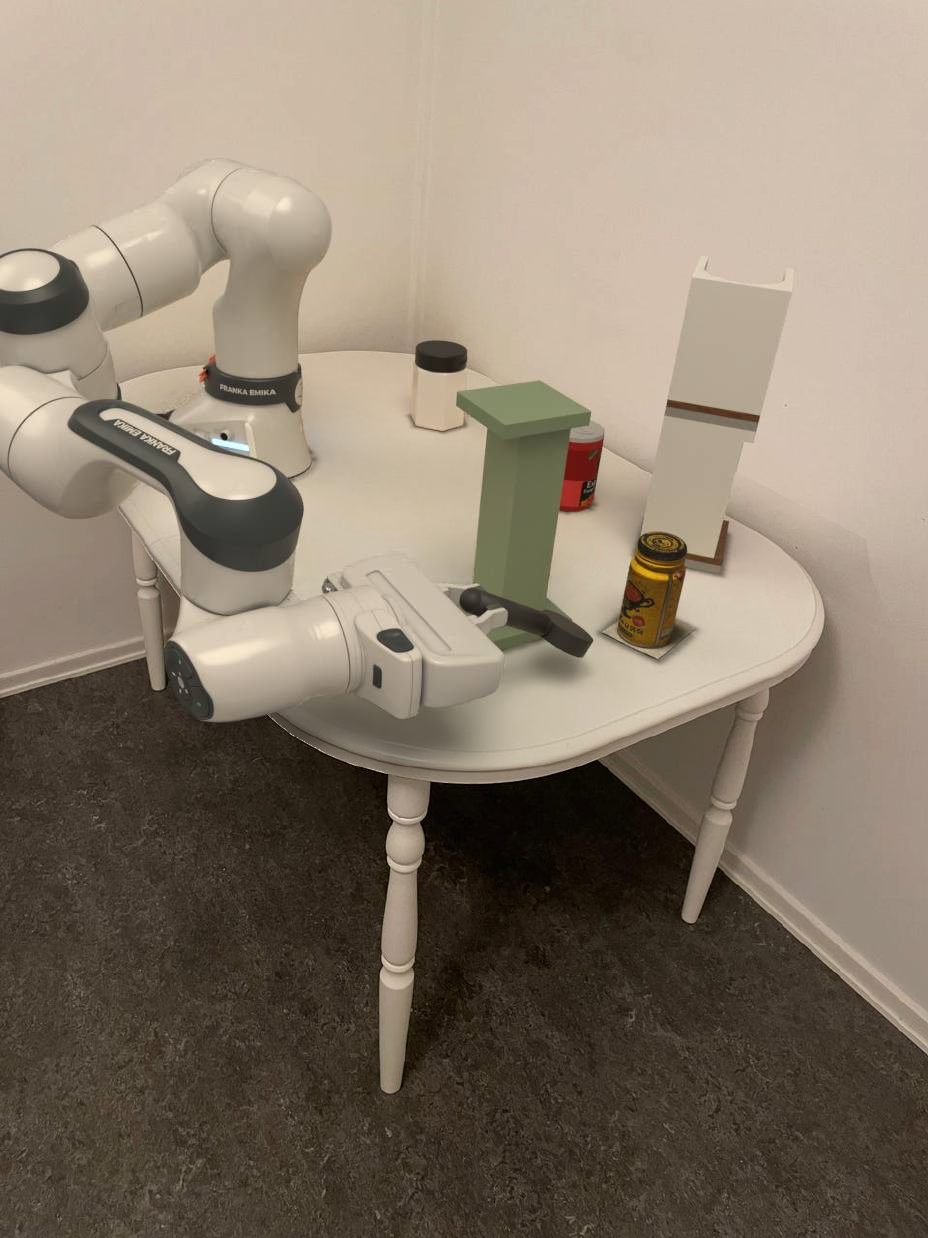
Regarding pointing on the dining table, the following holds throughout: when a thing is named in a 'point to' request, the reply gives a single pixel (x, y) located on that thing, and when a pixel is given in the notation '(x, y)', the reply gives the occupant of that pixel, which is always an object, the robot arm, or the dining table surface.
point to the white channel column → (713, 407)
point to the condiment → (653, 596)
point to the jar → (438, 384)
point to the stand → (520, 492)
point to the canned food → (582, 467)
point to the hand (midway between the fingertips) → (493, 603)
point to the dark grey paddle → (532, 621)
